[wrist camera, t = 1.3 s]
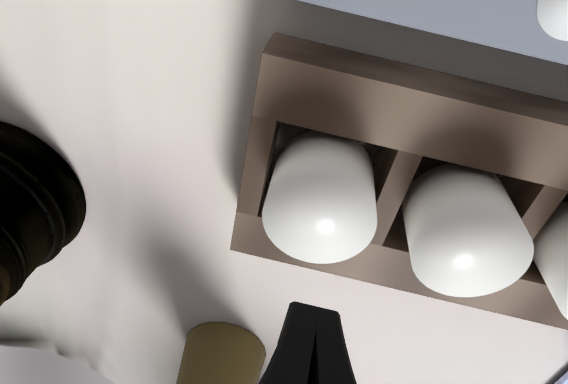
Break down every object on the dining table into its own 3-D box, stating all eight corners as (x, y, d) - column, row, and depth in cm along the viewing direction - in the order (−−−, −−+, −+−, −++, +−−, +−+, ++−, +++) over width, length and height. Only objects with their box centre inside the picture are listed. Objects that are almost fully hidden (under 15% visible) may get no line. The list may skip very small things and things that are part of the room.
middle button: (525, 176, 18) (558, 228, 15) (477, 250, 20) (498, 307, 17) (423, 151, 18) (438, 199, 15) (388, 229, 20) (395, 282, 17)
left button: (387, 143, 18) (394, 189, 15) (356, 221, 20) (357, 274, 17) (285, 118, 17) (272, 160, 15) (267, 200, 20) (254, 249, 17)
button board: (710, 136, 18) (769, 174, 15) (571, 291, 23) (597, 336, 21) (274, 32, 18) (261, 52, 15) (242, 213, 23) (229, 249, 21)
